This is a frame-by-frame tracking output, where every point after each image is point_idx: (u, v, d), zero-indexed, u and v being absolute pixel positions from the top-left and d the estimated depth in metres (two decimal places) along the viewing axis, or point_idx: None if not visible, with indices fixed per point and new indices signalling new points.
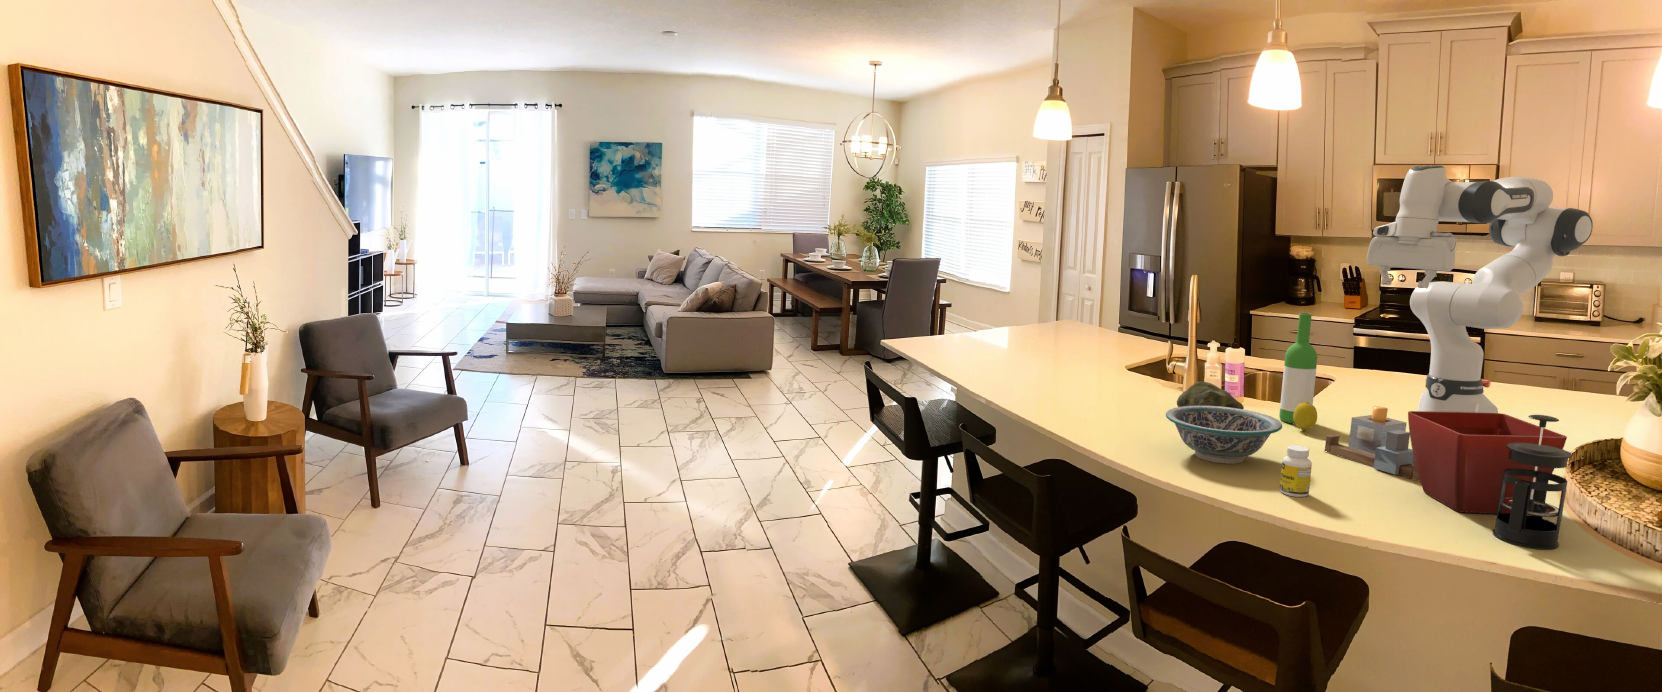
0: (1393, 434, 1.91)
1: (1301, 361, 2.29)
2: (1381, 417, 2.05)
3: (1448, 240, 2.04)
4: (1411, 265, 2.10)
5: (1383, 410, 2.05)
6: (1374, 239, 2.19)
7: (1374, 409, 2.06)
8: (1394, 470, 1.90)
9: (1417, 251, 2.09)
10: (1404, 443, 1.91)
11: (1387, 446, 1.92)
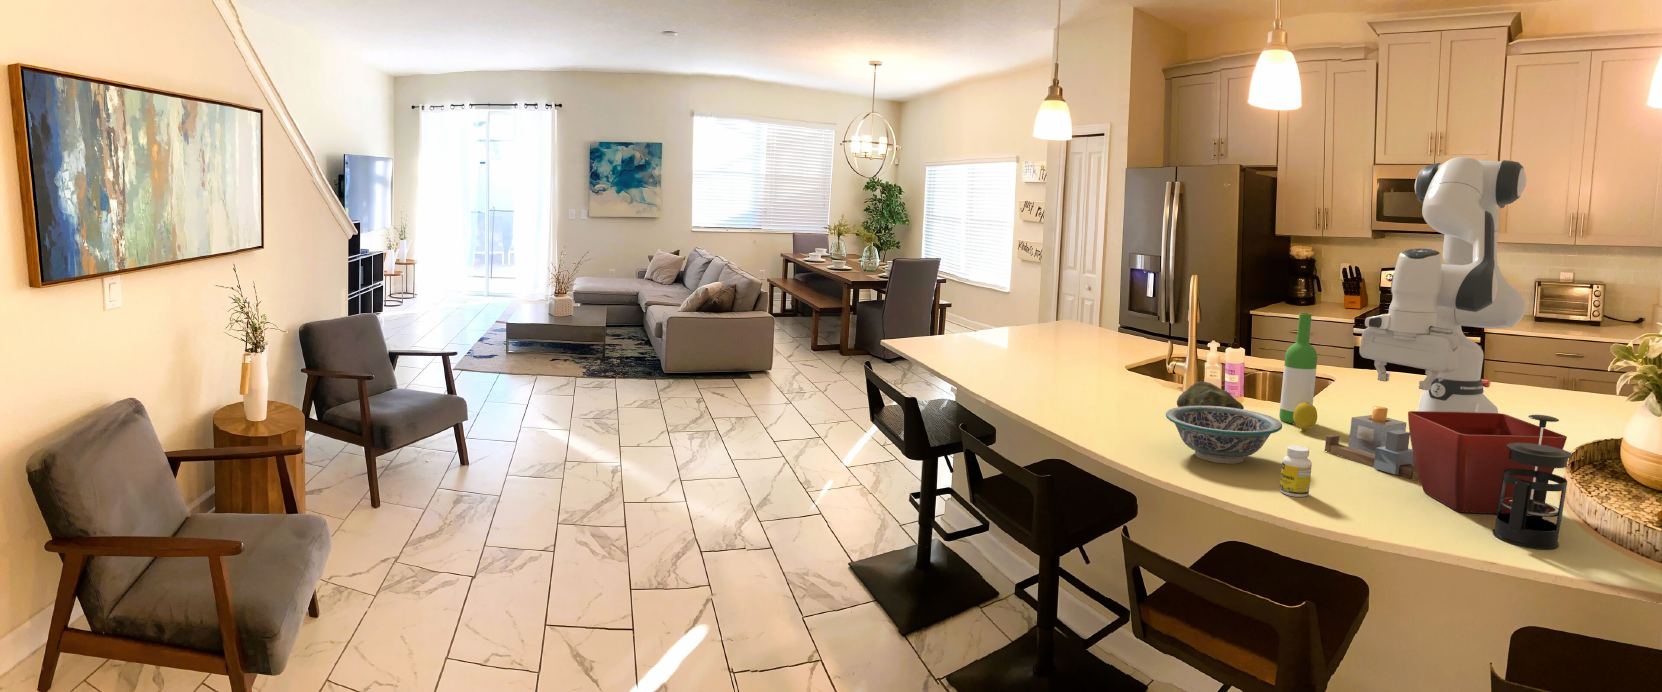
0: (1393, 434, 1.91)
1: (1301, 361, 2.29)
2: (1381, 417, 2.05)
3: (1449, 338, 1.80)
4: (1410, 363, 1.87)
5: (1383, 410, 2.05)
6: (1366, 330, 1.95)
7: (1374, 409, 2.06)
8: (1394, 470, 1.90)
9: (1415, 348, 1.86)
10: (1404, 443, 1.91)
11: (1387, 446, 1.92)
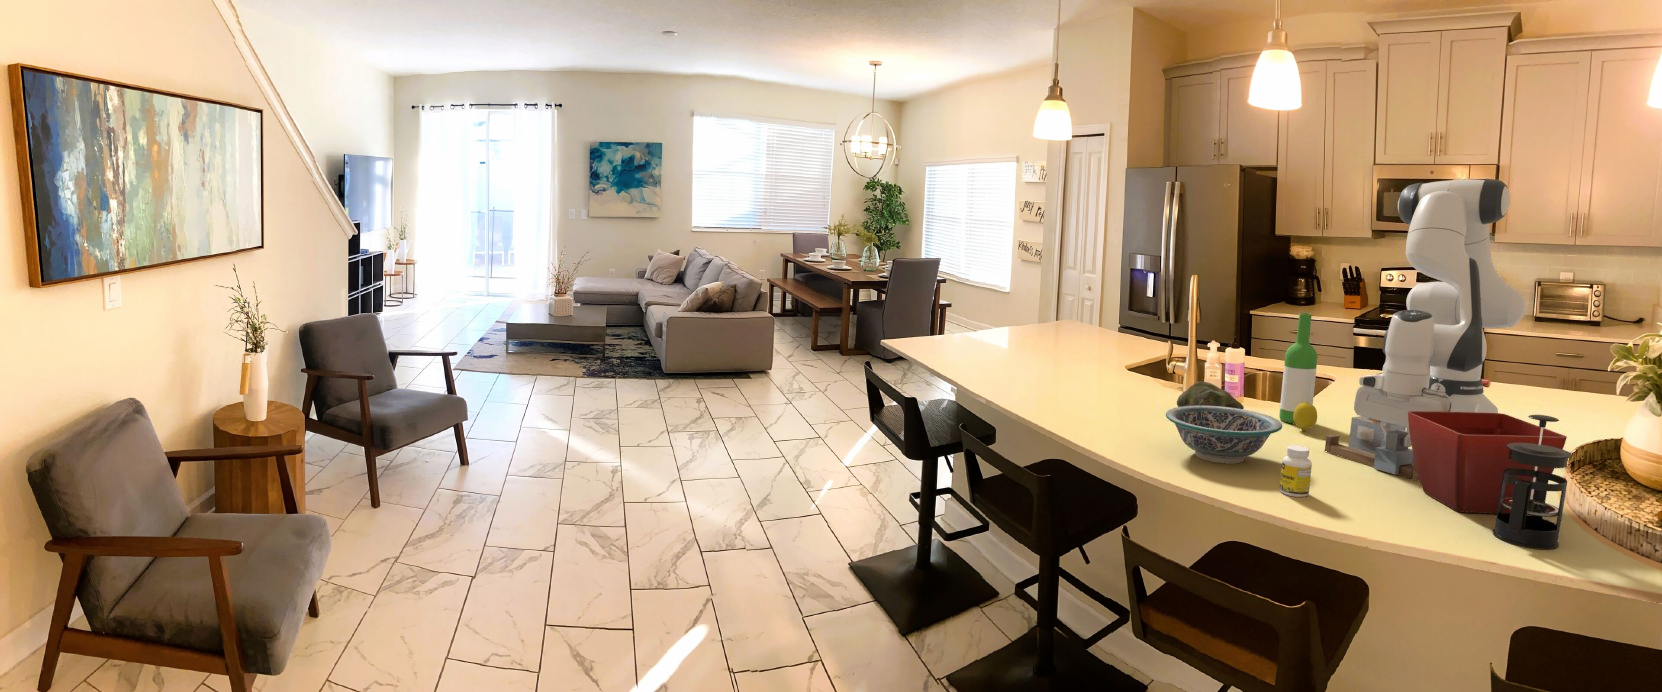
0: (1393, 434, 1.91)
1: (1301, 361, 2.29)
2: None
3: (1442, 401, 1.82)
4: (1403, 424, 1.89)
5: None
6: (1360, 389, 1.97)
7: None
8: (1394, 470, 1.90)
9: (1409, 409, 1.88)
10: None
11: (1387, 446, 1.92)
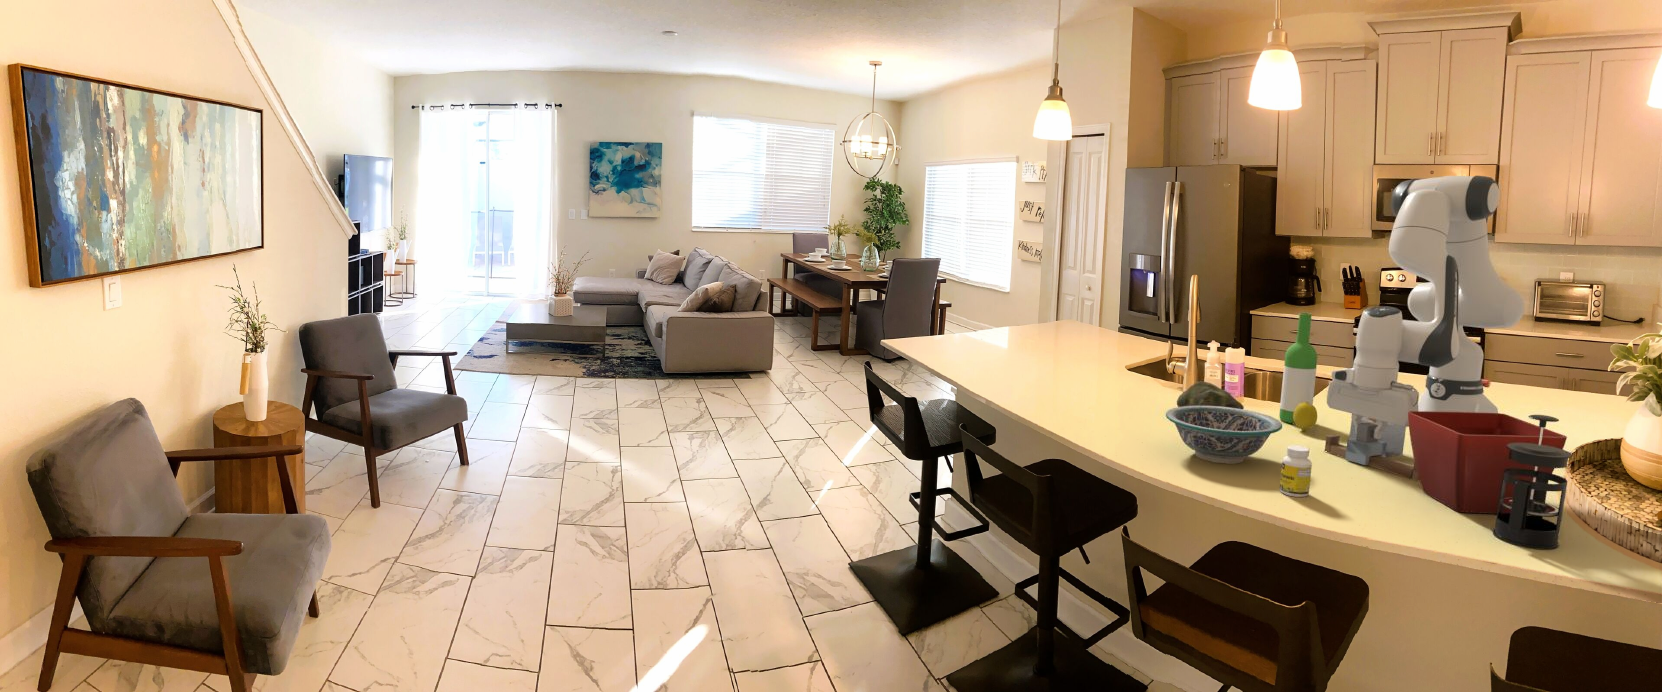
0: (1363, 426, 1.97)
1: (1301, 361, 2.29)
2: None
3: (1410, 394, 1.89)
4: (1373, 416, 1.95)
5: None
6: (1333, 382, 2.04)
7: None
8: (1364, 461, 1.96)
9: (1378, 402, 1.94)
10: None
11: (1358, 438, 1.99)
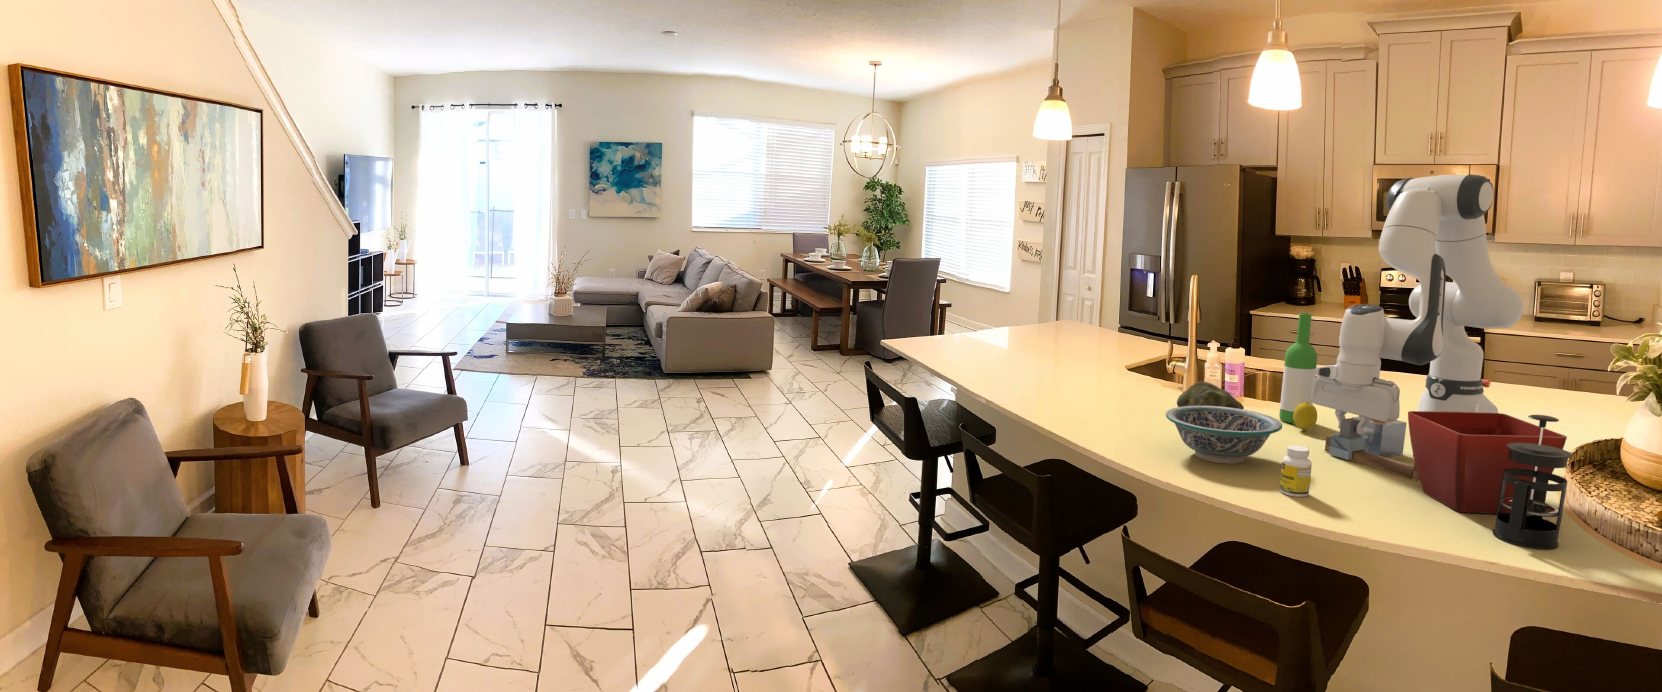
0: (1346, 422, 2.01)
1: (1301, 361, 2.29)
2: None
3: (1391, 390, 1.92)
4: (1356, 412, 1.99)
5: None
6: (1317, 379, 2.08)
7: None
8: (1347, 456, 2.00)
9: (1360, 397, 1.98)
10: None
11: (1341, 433, 2.03)
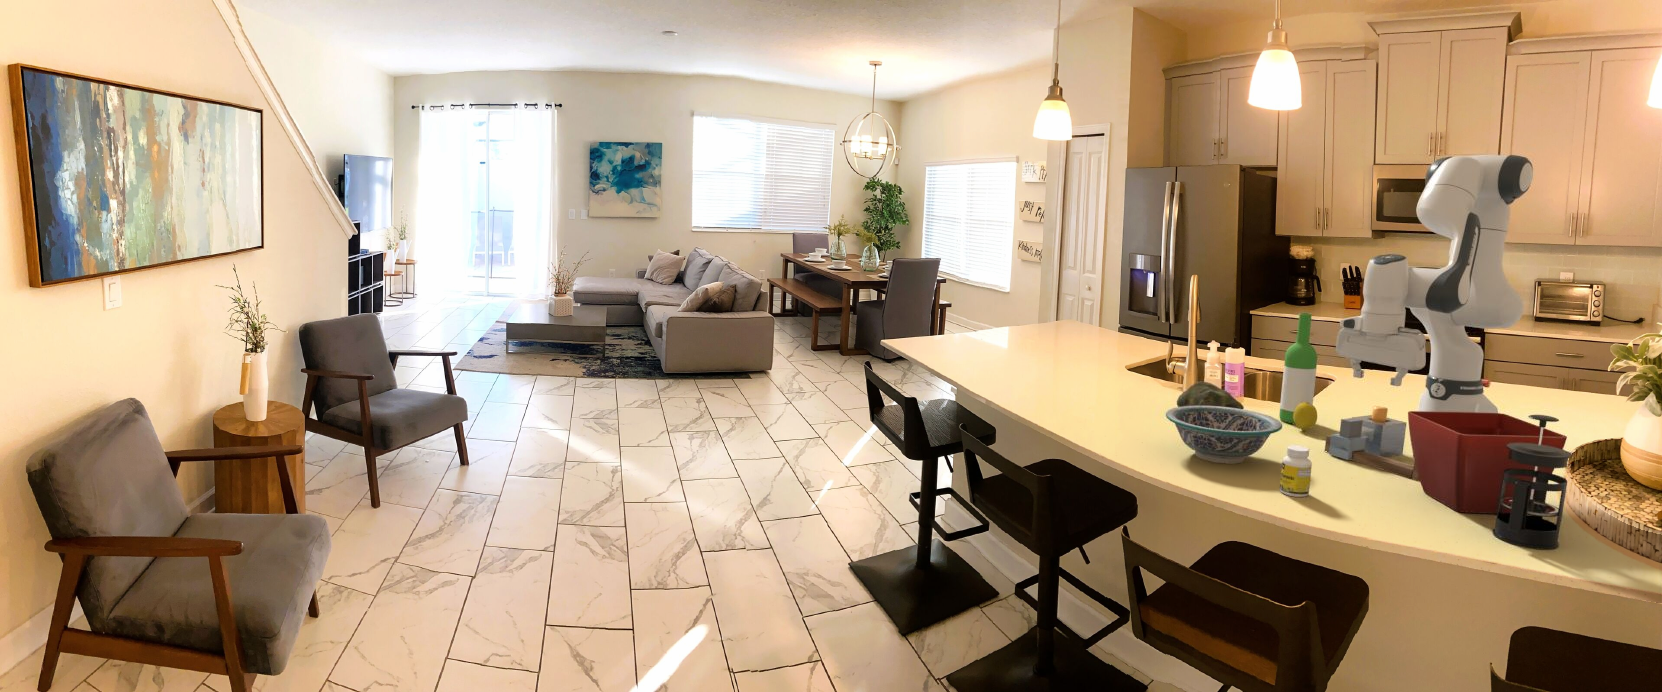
0: (1346, 421, 2.01)
1: (1301, 361, 2.29)
2: (1381, 417, 2.05)
3: (1416, 338, 1.94)
4: (1381, 361, 2.01)
5: (1383, 410, 2.05)
6: (1341, 331, 2.09)
7: (1374, 409, 2.06)
8: (1347, 456, 2.00)
9: (1386, 347, 1.99)
10: (1357, 430, 2.02)
11: (1341, 433, 2.03)
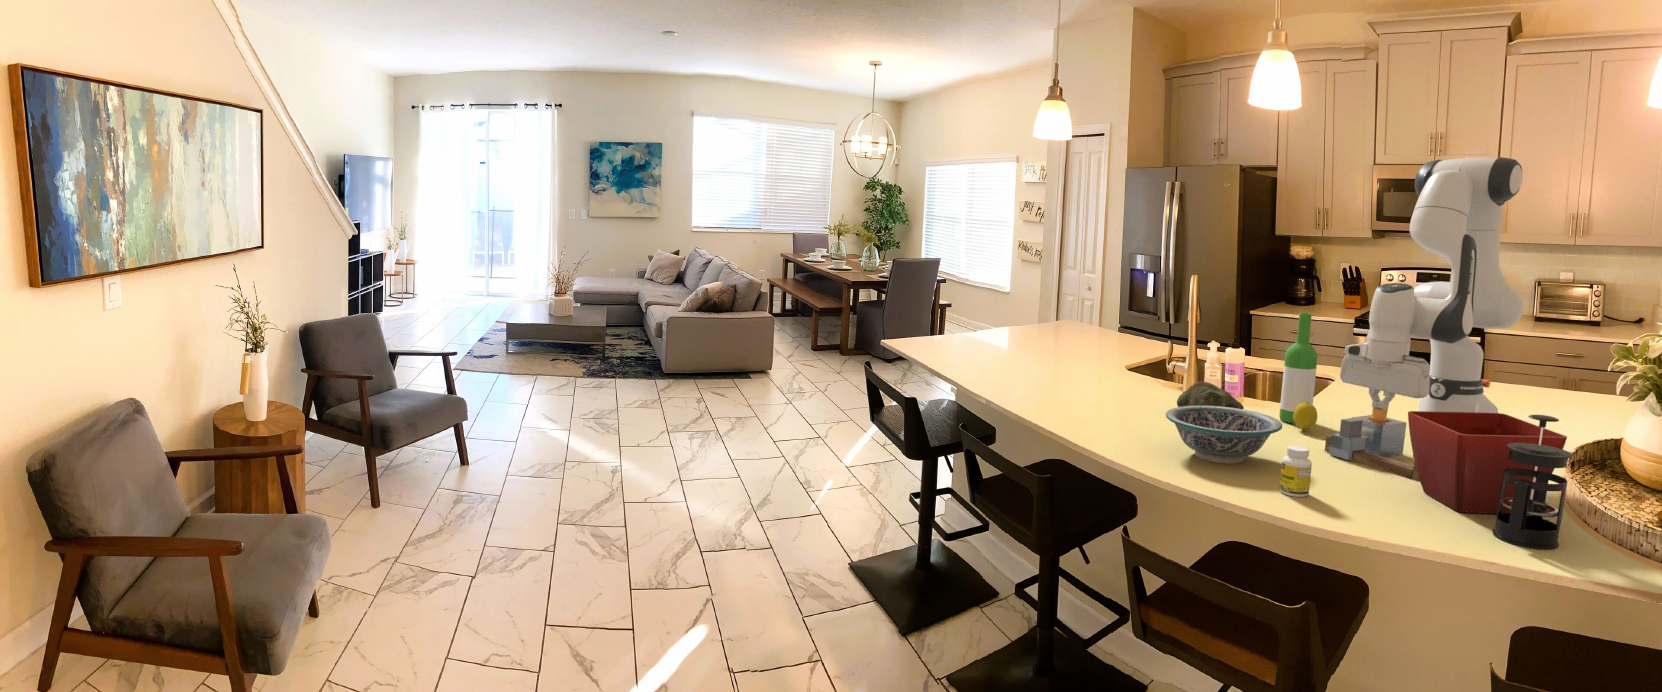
0: (1346, 421, 2.01)
1: (1301, 361, 2.29)
2: (1381, 418, 2.05)
3: (1421, 366, 1.96)
4: (1385, 389, 2.03)
5: (1383, 411, 2.05)
6: (1346, 357, 2.11)
7: (1374, 410, 2.06)
8: (1347, 456, 2.00)
9: (1390, 375, 2.01)
10: (1357, 430, 2.02)
11: (1341, 433, 2.03)
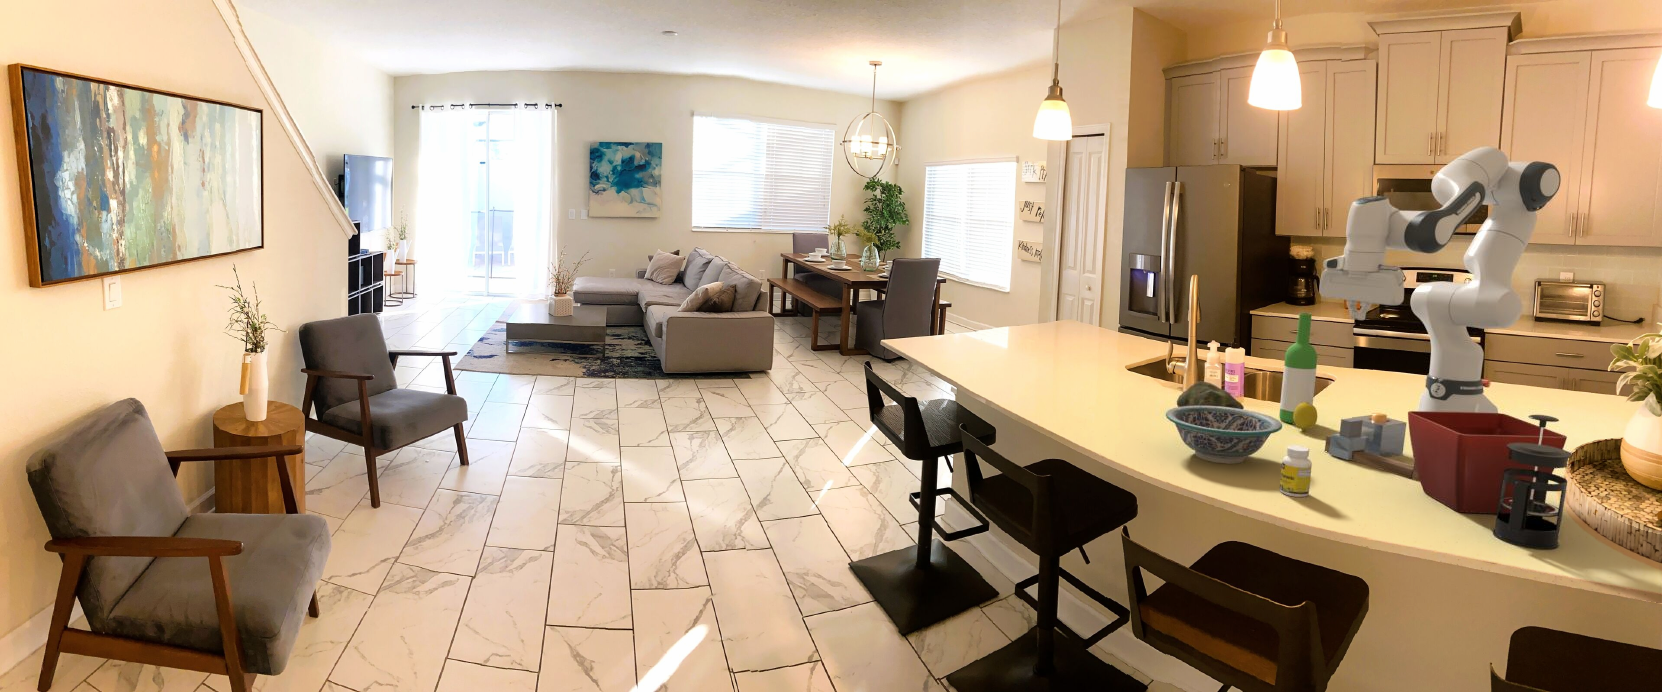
0: (1346, 421, 2.01)
1: (1301, 361, 2.29)
2: None
3: (1395, 274, 2.02)
4: (1362, 299, 2.09)
5: (1382, 417, 2.05)
6: (1325, 272, 2.17)
7: (1373, 416, 2.06)
8: (1347, 456, 2.00)
9: (1367, 285, 2.08)
10: (1357, 430, 2.02)
11: (1341, 433, 2.03)
